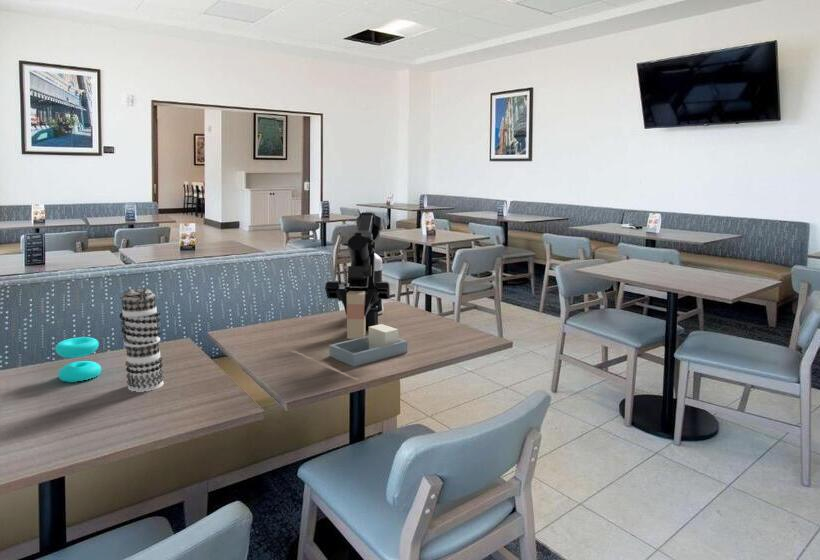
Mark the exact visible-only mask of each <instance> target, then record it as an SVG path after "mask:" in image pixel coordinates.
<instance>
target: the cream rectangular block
mask: <svg viewBox="0 0 820 560" xmlns="http://www.w3.org/2000/svg"><path fill="white" fill-rule="evenodd" d="M368 336H369V349H373V348H377V347H381V346H385V345H389V344H393V343H397V342H398V338H399V329H398V328H395V327H392V326H389V325H385V324H383V323H380V324H379V323H378V325H375V326H370V327H369V330H368Z"/></svg>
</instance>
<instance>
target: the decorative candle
mask: <svg viewBox="0 0 820 560" xmlns="http://www.w3.org/2000/svg"><path fill="white" fill-rule="evenodd" d="M156 296H157V295H156V294H155V293H153V291H152V290H151V289H148V288H140V287H139V288H131V289H128V290H126V291H124V293H123V295H122V296H121V297H120V299H121V304H122V305H121V306H122V309H121V313H120V314H119V316H118V317H119V318H120V320H121V322H120V327H121V332H122V334H123V335H122V340H123V345H124V346H125V348H126V349H125V350H126V357H125V358H126V361H125V366H126V368H125V370H126V372H127V374H126V375H125V377H126V379H127V381H126V384H127V385H128V387H127V390H128V389H129V390H128V391H130V390H131V391H130V392H133V391H136V392H135V393H144V391H146V392H151V390H152V391H154V390H158V389H160V388H162V387H163V386H164V384H165V383H164V369H162V368H163V363H162V361H163V358H162V356H161V350H160V346H159V343H160V342H161V337H160V335H161V332H160V331H159V330H160V329H161V325H159V324H157V323H158V322H160V321H161V318H159V316H161V312H159V311H158V310H157V305H156Z"/></svg>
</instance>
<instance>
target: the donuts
mask: <svg viewBox="0 0 820 560" xmlns="http://www.w3.org/2000/svg"><path fill="white" fill-rule="evenodd" d="M99 345H100V342H99V341H98V340H97V339H96V338H94V337H90V336H79V337H72V338H67V339H65V340H61V341H59V342H58V343H57V344H56V345H55V347H54V349H55V352H56V354H57V355H58V356H60V357H63V358H81V357H86V356H89V355H92V354H93V353H94V352H96V351H97V349H98V348H99ZM101 373H102V366H101V365H100V364H99V363H98V362H95V361H91V360H81V361H80V360H79V361H73V362H70V363H68V364H66V365H64V366H62V367H61V368H60V369H59V371H58V374H57V375H58V379H59V380H60V381H62V382H65V381H66V383H78V382H77V381H82V382H84V381H83V380H87V381H89V380H88V379H90V380H92V379H91V378H93V379H95V378H96V376H97V377H98V376H99V375H100V374H101ZM94 377H95V378H94Z"/></svg>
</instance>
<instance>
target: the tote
mask: <svg viewBox="0 0 820 560" xmlns="http://www.w3.org/2000/svg"><path fill="white" fill-rule="evenodd" d="M328 350H329V357H331V358H333V359H335V360H337V361H340V362H342V363H344V364H347V365H348V366H351V367H358V366H361V365H365V364H369V363H372V362H375V361H376V362H377V361H379V360H383V359H387V358H388V359H389V358H391V357H394V356H398V355H402V354H405V353H408V340H406V339H405V340H404V339H403V338H399V337H398V342H397V343H393V344H389V345H385V346H381V347H377V348H373V349H369V335H367V336H366V335H365V337H364V339H350V340H349V339H348V340H345V341H340V342H336V343H332V344H329V349H328Z"/></svg>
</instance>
